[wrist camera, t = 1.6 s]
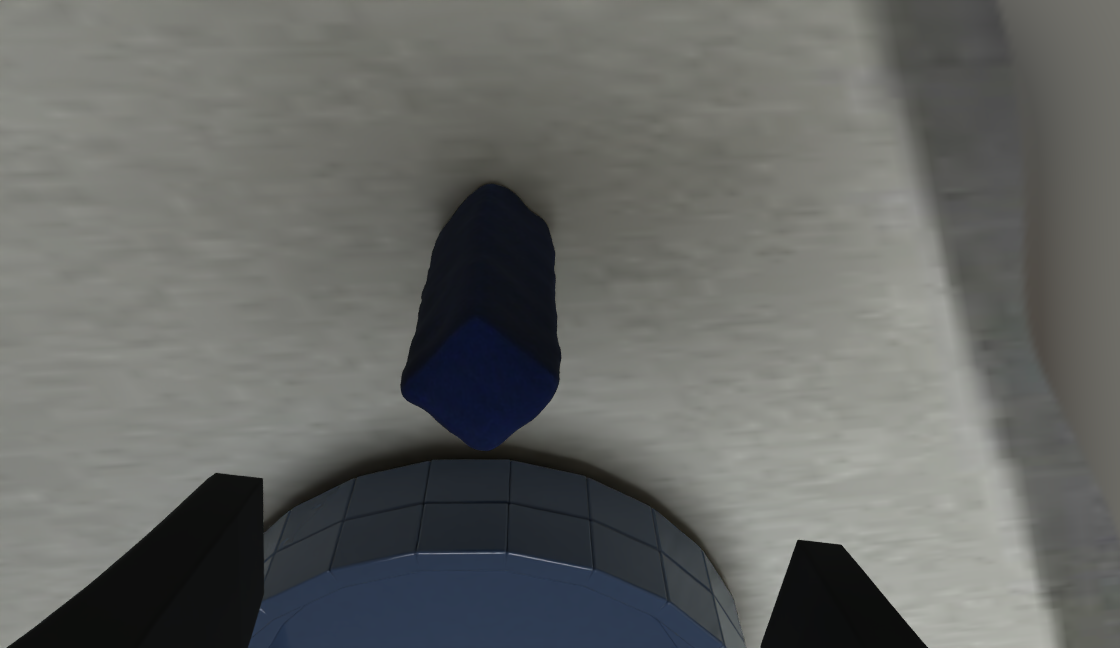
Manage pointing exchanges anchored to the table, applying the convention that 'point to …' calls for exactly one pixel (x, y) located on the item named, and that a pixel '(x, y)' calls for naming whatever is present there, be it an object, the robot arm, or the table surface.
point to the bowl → (486, 566)
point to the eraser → (487, 322)
